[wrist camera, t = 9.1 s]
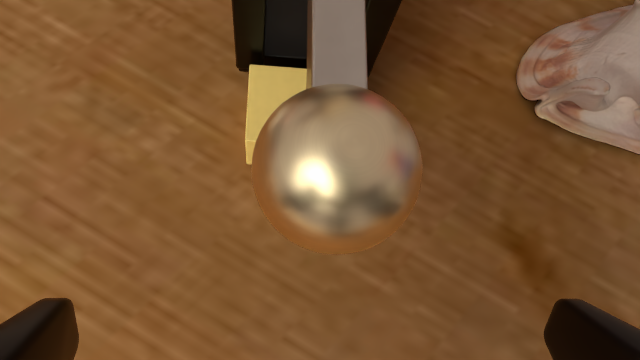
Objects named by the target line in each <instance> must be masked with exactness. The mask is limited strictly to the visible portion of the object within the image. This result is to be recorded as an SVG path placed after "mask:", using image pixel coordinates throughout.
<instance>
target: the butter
mask: <svg viewBox="0 0 640 360" xmlns="http://www.w3.org/2000/svg"><path fill="white" fill-rule="evenodd" d="M306 78H307V69H304V68H291V67H278V66H265V65H252V64H251V65H250V66H249V82H248V99H247V116H246V133H245V148H246V163H247V164H252V156H253V151H254V147H255V143H256V140H257V138H258V135H259V133H260V131H261V129H262V127H263V126H264V124H265V122H266V121H267V119H268V118H269V117H270V115H271V114H272V113H273V112H274V111H275V110H276V109H277V108H278V107H279V106H280V105H281V104H282V103H283V102H285V101H286V100H288V99H289V98H290V97H292V96H294V95H295V94H297V93H299V92H301V91H303V90H306Z"/></svg>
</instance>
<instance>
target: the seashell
mask: <svg viewBox="0 0 640 360" xmlns="http://www.w3.org/2000/svg"><path fill="white" fill-rule="evenodd" d="M516 78H517V86H518V88H519V90H520V92H521V94H522V95H523V97H524V98H526V99H528V100H539V99H540V100H539V101H538V103H537V104H536V105H535V113H536V115H537V116H538V117H540V118H542V119H546V120H548V121H550V122H552V123H554V124H556V125H558V126H560V127H561V128H563V129H565V130H567V131H569V132H572V133H575V134H577V135H581V136H584V137H587V138H590V139H592V140H596V141H600V142H604V143H607V144H610V145H613V146H616V147H619V148H623V149H625V150H628V151H631V152H634V153H637V154H640V0H635V1H634V5H630V6H625V7H620V8H616V9H613V10H610V11H605V12H601V13H598V14H595V15H592V16H588V17H585V18H582V19H579V20H576V21H573V22H570V23H566V24H564V25H561V26H558V27H556V28H554V29H552V30H550V31H549V32H547V33H545V34H544V35H542V36H541V37H539V38H538V39H537V40H536V41H535V42H534V43H533V44H532V45H531V46H530V47H529V48H528V51H527V52H526V53H525V54H524V56H523V57H522V59H521V62H520V65H519V67H518V70H517V76H516Z"/></svg>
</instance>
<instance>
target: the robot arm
mask: <svg viewBox="0 0 640 360" xmlns="http://www.w3.org/2000/svg"><path fill="white" fill-rule="evenodd" d="M544 339H545V343H546V345H547V347H548V349H549V352H550V354H551V356H552V358H553V360H640V330H639V329H638V328H636V327H634V326H632V325H630V324H628V323H626V322H624V321H622V320H620V319H618V318H616V317H614V316H612V315H610V314H609V313H607V312H605V311H603V310H601V309H599V308H597V307H595V306H593V305H591V304H589V303H587V302H585V301H583V300H580V299H560V300H558V301H557V302H556V303H555V304H554V307H553V309H552V312H551V314H550V317H549V319H548V322H547V324H546V326H545V329H544ZM78 342H79V334H78V328H77V323H76V317H75V312H74V307H73V303H72V302H71V300H69V299H67V298H45V299H41V300H40V301H38V302H36V303H34V304H33V305H31V306H29V307H28V308H26V309H25V310H23V311H21V312H20V313H18V314H16V315H15V316H13V317H12V318H10V319H8V320H7V321H5V322H3V323H2V324H0V360H74V357H75V354H76V351H77V347H78Z"/></svg>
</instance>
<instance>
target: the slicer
mask: <svg viewBox="0 0 640 360" xmlns="http://www.w3.org/2000/svg"><path fill="white" fill-rule="evenodd" d="M401 1H402V0H365V6H366V42H367V78H368V77H369V75H370V72H371V70H372V68H373V65H374V63H375V61H376V59H377V56H378V54H379V52H380V49H381V47H382V45H383V42H384V40H385V38H386V36H387V33H388V31H389V29H390V26H391V24H392V22H393V20H394V17H395V15H396V13H397V10H398V8H399V6H400V4H401ZM307 6H308V0H232V11H233V25H234V39H235V53H236V66H237V68H239V70H240V71H245V72H249V66H250V65H251V64H252V65H265V66H278V67H291V68H304V69H307Z"/></svg>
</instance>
